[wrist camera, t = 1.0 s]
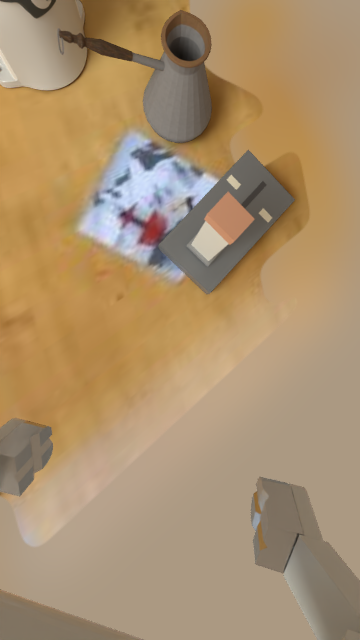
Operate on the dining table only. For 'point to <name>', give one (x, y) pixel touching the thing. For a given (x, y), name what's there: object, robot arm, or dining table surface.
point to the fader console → (265, 207)
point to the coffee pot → (169, 76)
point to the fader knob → (220, 229)
